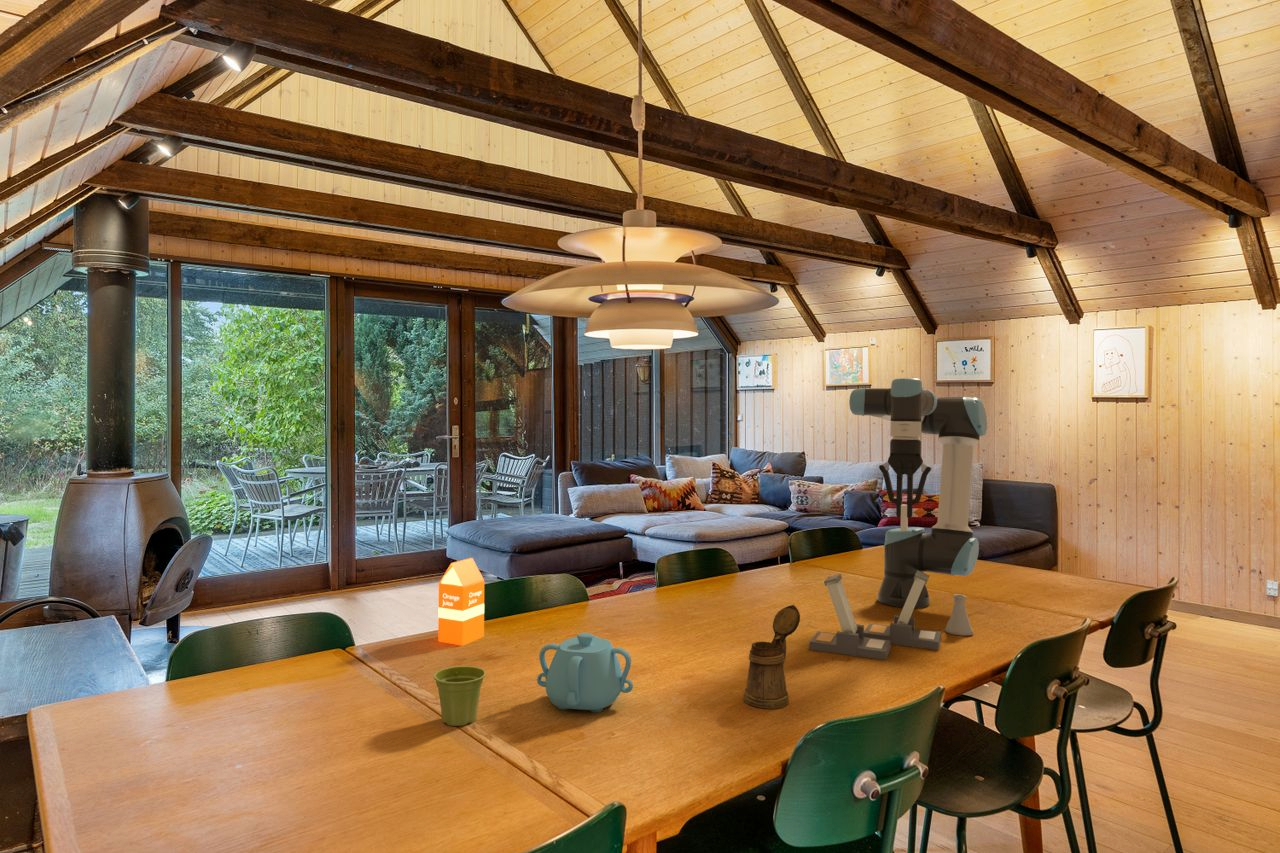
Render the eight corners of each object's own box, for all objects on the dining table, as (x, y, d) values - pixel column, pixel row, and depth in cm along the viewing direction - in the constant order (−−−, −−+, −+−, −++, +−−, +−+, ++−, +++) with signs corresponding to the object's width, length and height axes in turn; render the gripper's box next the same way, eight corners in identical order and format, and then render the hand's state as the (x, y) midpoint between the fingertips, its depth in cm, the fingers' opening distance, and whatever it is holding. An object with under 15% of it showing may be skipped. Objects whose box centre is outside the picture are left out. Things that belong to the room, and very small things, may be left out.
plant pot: (438, 711, 146) (438, 665, 146) (488, 710, 147) (488, 665, 147) (428, 731, 137) (429, 682, 137) (482, 729, 138) (482, 682, 138)
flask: (968, 629, 208) (969, 592, 208) (977, 637, 201) (978, 599, 200) (941, 628, 208) (941, 592, 208) (949, 636, 201) (949, 598, 201)
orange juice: (484, 636, 196) (485, 558, 195) (462, 645, 188) (463, 564, 187) (459, 632, 199) (460, 555, 199) (437, 641, 191) (438, 561, 191)
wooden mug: (811, 696, 156) (812, 608, 156) (769, 712, 147) (771, 619, 147) (776, 684, 163) (777, 600, 163) (734, 699, 154) (735, 610, 154)
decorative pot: (639, 710, 148) (641, 640, 148) (562, 724, 140) (563, 650, 140) (603, 683, 162) (605, 620, 162) (532, 695, 155) (533, 628, 155)
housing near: (809, 649, 188) (809, 629, 188) (817, 638, 197) (818, 619, 197) (885, 660, 180) (885, 639, 180) (890, 648, 189) (891, 628, 189)
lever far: (893, 626, 195) (915, 574, 193) (896, 621, 200) (917, 570, 198) (905, 632, 194) (927, 579, 191) (908, 626, 199) (929, 575, 197)
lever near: (843, 640, 186) (823, 581, 188) (847, 634, 192) (828, 576, 194) (856, 637, 185) (836, 578, 187) (860, 631, 190) (840, 573, 192)
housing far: (863, 640, 196) (863, 621, 196) (869, 630, 205) (869, 612, 205) (938, 650, 188) (938, 630, 188) (940, 639, 198) (941, 620, 198)
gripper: (877, 438, 195) (875, 530, 196) (931, 439, 190) (930, 534, 190) (881, 437, 202) (879, 526, 203) (933, 438, 197) (932, 530, 197)
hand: (904, 530), depth 196 cm, fingers closed
